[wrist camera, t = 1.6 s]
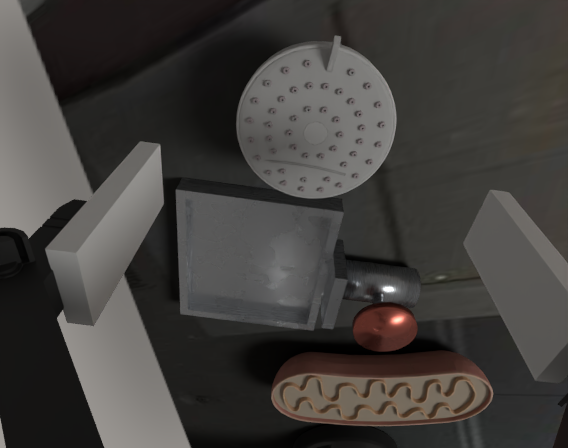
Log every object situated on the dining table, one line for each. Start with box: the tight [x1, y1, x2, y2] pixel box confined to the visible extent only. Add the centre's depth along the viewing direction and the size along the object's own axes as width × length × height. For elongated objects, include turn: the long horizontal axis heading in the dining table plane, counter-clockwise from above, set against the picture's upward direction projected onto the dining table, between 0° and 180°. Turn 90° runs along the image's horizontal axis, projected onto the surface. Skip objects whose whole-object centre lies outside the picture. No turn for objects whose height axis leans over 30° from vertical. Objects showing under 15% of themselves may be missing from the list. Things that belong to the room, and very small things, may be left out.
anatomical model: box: [271, 350, 493, 426], centre depth 43 cm, size 23×10×5 cm, turn 95°
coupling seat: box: [176, 178, 420, 352], centre depth 34 cm, size 22×14×7 cm
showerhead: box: [236, 36, 396, 198], centre depth 25 cm, size 9×7×10 cm
